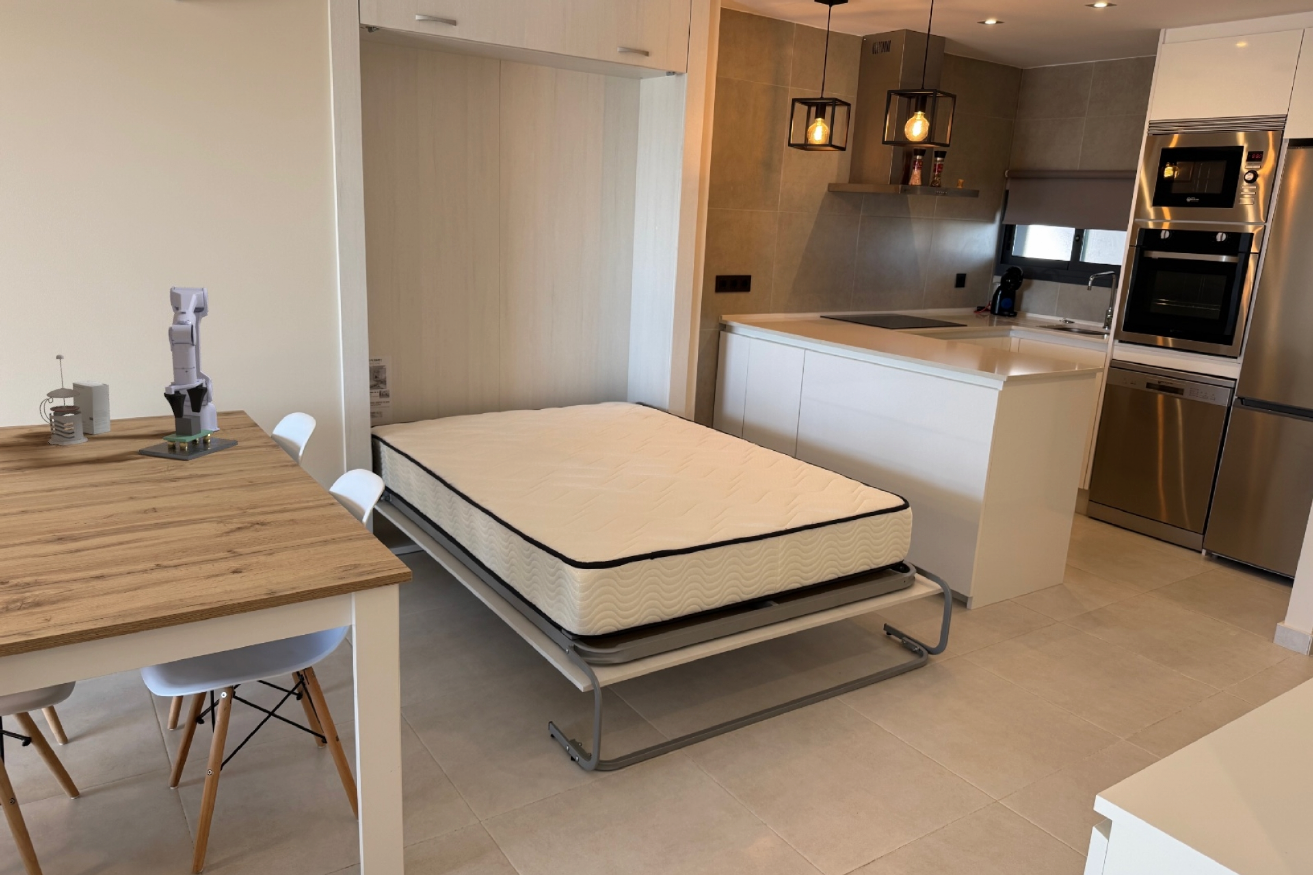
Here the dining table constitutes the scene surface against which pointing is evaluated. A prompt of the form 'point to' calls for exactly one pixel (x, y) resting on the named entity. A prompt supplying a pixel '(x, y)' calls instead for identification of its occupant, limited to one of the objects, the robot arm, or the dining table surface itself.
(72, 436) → the french press
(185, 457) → the plate
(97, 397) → the skincare box
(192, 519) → the dining table surface
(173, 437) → the board
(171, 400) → the robot arm
